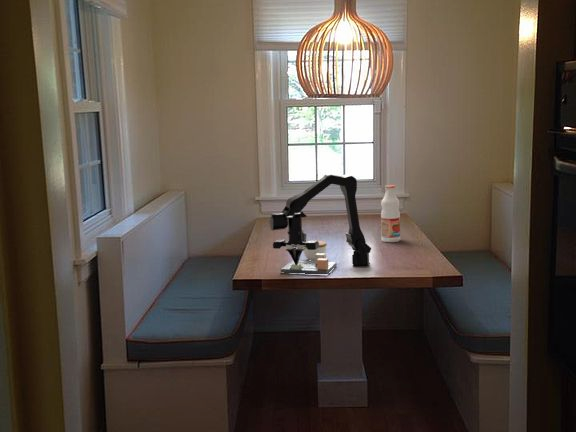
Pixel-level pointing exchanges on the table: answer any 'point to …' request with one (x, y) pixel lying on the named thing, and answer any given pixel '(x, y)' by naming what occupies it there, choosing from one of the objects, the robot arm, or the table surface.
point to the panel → (308, 268)
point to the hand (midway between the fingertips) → (296, 264)
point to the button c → (296, 266)
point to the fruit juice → (390, 216)
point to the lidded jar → (311, 253)
